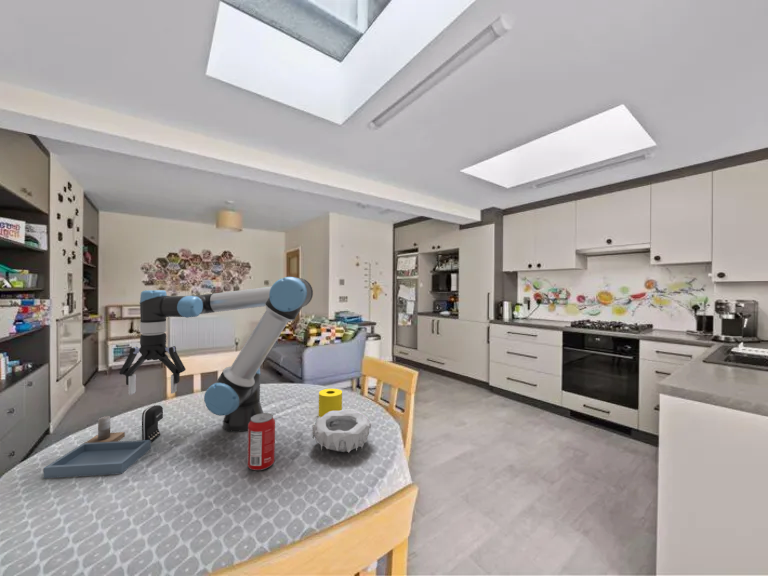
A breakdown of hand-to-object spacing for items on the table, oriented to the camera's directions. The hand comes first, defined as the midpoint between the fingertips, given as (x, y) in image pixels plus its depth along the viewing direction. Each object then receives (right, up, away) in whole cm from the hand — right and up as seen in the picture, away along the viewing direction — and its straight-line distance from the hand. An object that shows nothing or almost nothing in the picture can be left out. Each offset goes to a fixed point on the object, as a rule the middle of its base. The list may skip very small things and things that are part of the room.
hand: (153, 393), depth 112 cm
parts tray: (-5, -17, -15) cm, 23 cm away
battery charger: (0, -17, 0) cm, 17 cm away
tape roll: (+59, -18, +25) cm, 66 cm away
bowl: (+68, -18, -3) cm, 70 cm away
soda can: (+44, -18, -15) cm, 50 cm away
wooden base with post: (-15, -16, -3) cm, 22 cm away
